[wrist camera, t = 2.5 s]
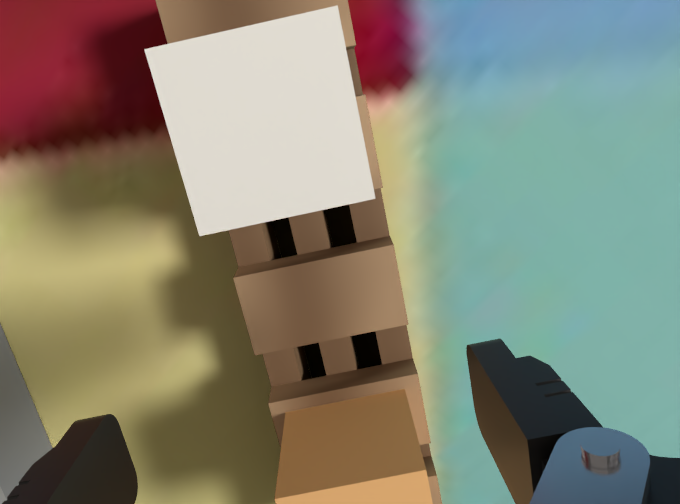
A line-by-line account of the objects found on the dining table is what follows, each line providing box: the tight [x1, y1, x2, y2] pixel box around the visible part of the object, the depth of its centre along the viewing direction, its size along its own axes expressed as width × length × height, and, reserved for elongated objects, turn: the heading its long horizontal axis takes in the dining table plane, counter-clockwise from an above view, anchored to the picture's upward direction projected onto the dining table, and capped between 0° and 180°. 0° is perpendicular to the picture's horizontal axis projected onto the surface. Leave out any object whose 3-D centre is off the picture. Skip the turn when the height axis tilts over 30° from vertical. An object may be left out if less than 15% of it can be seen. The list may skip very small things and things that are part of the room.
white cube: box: [144, 5, 376, 236], centre depth 15 cm, size 4×4×4 cm
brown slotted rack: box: [156, 0, 442, 504], centre depth 21 cm, size 6×22×4 cm, turn 12°
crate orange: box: [275, 389, 433, 504], centre depth 19 cm, size 4×4×4 cm
